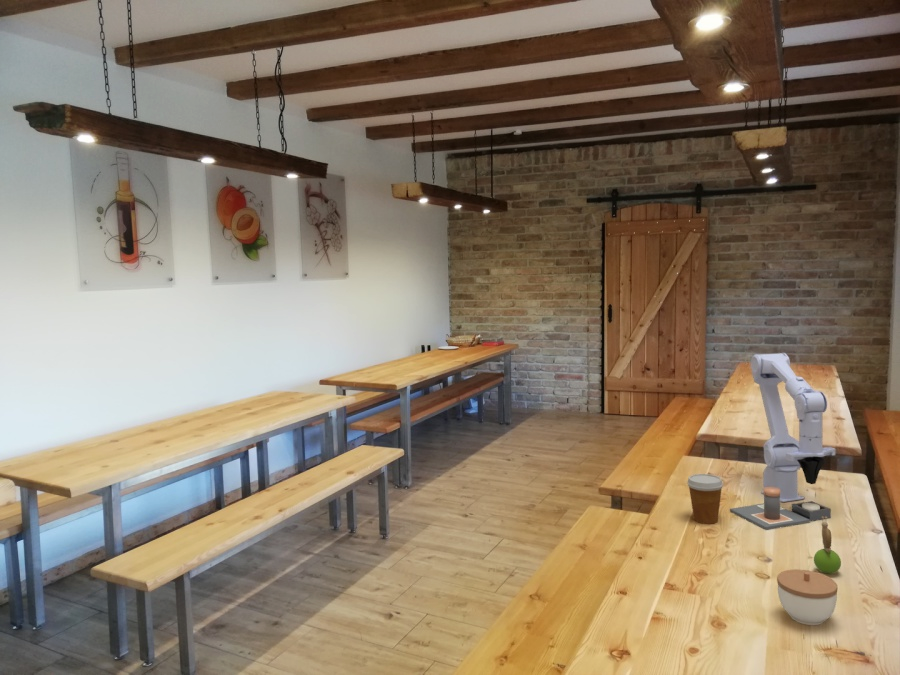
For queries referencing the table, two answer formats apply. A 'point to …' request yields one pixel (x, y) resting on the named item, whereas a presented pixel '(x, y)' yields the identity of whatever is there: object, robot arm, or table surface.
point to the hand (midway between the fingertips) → (810, 483)
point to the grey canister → (771, 503)
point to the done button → (810, 506)
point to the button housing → (813, 514)
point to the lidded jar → (807, 595)
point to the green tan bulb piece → (827, 553)
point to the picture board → (757, 517)
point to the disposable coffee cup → (705, 497)
